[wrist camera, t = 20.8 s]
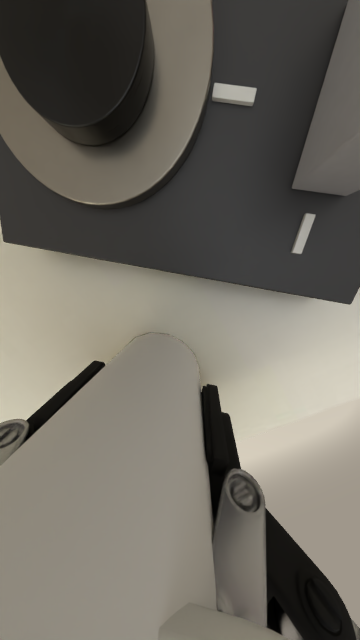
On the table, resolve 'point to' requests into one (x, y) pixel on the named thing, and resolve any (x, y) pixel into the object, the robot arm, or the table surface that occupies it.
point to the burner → (104, 92)
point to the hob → (225, 173)
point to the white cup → (111, 505)
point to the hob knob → (336, 119)
